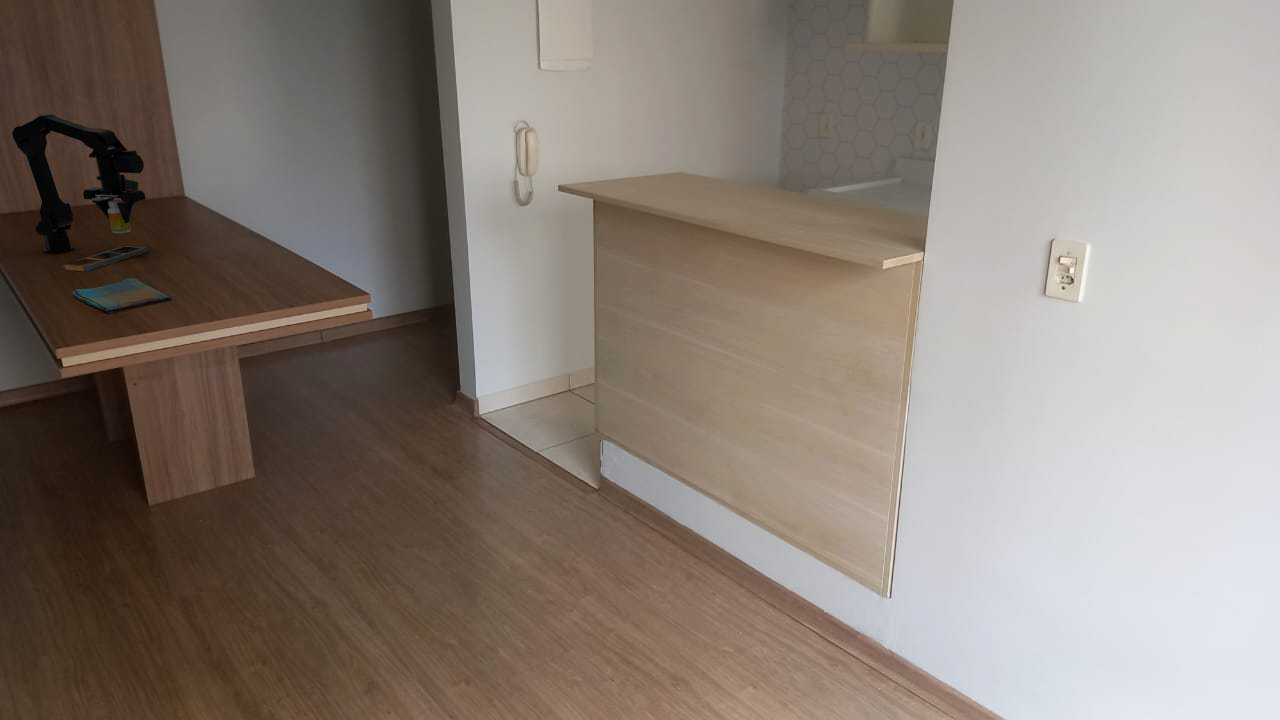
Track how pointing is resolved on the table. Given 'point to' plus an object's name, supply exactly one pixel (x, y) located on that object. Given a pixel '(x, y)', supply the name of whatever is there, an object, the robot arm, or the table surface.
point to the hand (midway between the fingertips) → (119, 222)
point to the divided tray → (96, 260)
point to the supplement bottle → (117, 218)
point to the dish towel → (120, 296)
